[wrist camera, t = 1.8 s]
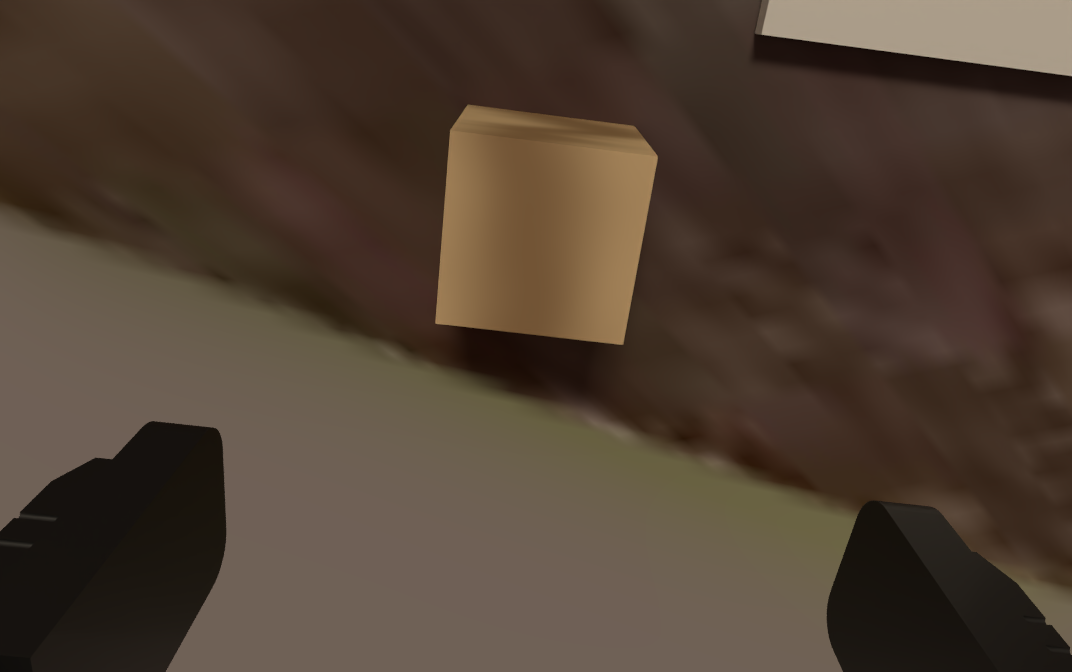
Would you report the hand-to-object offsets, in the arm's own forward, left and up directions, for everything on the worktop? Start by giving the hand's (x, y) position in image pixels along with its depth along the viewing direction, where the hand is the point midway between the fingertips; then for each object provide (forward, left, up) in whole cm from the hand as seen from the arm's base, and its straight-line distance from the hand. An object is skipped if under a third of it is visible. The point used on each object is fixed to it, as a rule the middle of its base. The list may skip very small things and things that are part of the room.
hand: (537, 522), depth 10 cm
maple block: (0, 0, -18) cm, 18 cm away
